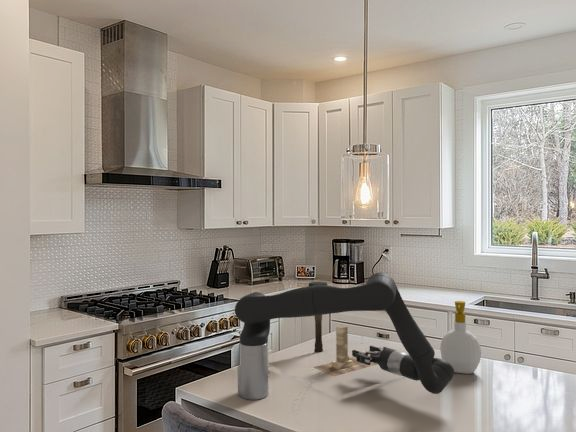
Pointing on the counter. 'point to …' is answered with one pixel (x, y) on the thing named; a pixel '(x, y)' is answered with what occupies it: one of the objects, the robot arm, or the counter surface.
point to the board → (335, 372)
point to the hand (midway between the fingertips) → (361, 350)
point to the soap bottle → (461, 345)
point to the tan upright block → (342, 349)
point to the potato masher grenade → (318, 325)
